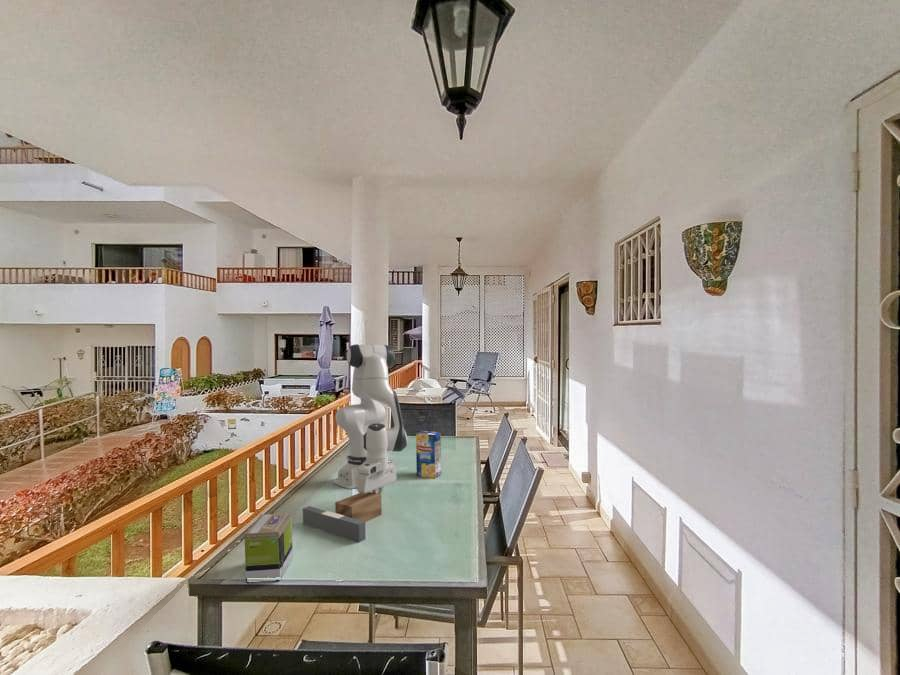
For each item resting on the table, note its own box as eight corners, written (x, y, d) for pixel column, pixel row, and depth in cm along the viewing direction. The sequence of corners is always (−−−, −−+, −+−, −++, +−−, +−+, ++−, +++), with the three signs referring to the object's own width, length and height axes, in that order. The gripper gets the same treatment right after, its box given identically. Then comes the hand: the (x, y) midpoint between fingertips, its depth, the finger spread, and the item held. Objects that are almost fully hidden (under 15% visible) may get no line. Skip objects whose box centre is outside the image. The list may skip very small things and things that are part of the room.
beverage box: (435, 478, 231) (434, 434, 232) (416, 476, 236) (415, 433, 237) (441, 474, 237) (440, 432, 238) (423, 472, 242) (422, 430, 243)
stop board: (302, 524, 175) (302, 508, 175) (309, 521, 178) (309, 505, 178) (359, 542, 158) (359, 524, 158) (365, 538, 161) (365, 521, 161)
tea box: (261, 559, 147) (260, 513, 147) (293, 558, 148) (293, 511, 148) (244, 584, 132) (243, 532, 132) (280, 582, 133) (279, 530, 133)
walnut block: (335, 523, 175) (335, 502, 176) (365, 510, 189) (365, 490, 189) (352, 528, 170) (351, 506, 171) (381, 514, 184) (381, 494, 184)
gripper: (388, 457, 198) (388, 490, 198) (353, 469, 181) (354, 504, 181) (399, 459, 195) (400, 492, 194) (365, 471, 178) (366, 507, 177)
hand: (377, 498), depth 187 cm, fingers closed
